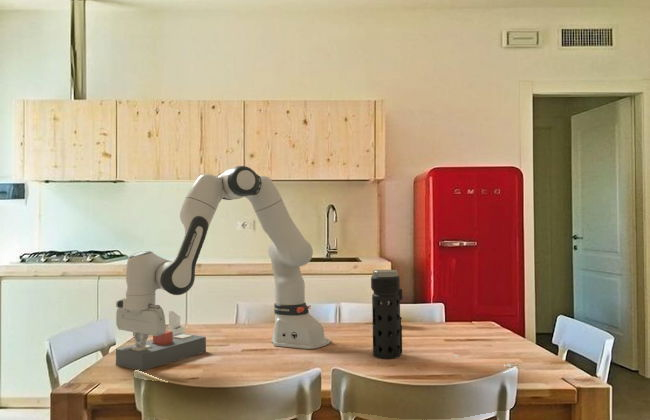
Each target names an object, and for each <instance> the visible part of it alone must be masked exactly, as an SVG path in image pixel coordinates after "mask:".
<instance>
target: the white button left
mask: <svg viewBox="0 0 650 420" xmlns="http://www.w3.org/2000/svg"><path fill="white" fill-rule="evenodd" d="M150 348H152V346H149V345H146V346H145V347H138V346H134V347H131V350H136V351H143V350H146V349H150Z"/></svg>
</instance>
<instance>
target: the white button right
mask: <svg viewBox="0 0 650 420" xmlns="http://www.w3.org/2000/svg"><path fill="white" fill-rule="evenodd" d="M186 334H187V333H185V334H182V335H178V336H174V337H173V338H174V339H180V340H184V339H188V338H191V337H192V335H193V334H190V335H186Z"/></svg>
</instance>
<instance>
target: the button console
mask: <svg viewBox="0 0 650 420" xmlns="http://www.w3.org/2000/svg"><path fill="white" fill-rule="evenodd" d="M182 334H184V333H178V334H174V335H173V337H174V336H178V335H182ZM185 334H186V335H192V337H191V338H188V339H184V340H180V339H174V338H173V343H169V344H165V345H157V344H153V339H150V340H146V345H149V346H152V348H150V349H146V350H143V351H136V350H131V347H134V346H136V345H135V343H134V344H130V345H126V346H122V347H118V348H115V365H116V366H119V367H122V368H123V367H124V368H128V369H132V370H136V369H140V370H142V371H141V372H143V371H147V370H150V369H154V368H157V367H160V366H165V365H167V364H170V363H174V362H177V361H179V360H183V359H186V358H189V357H192V356H196V355H198V354H202V353H205V352H206V351H207V337H206V336H204V335H203V336H202V335H197V334H189V333H185ZM140 370H139V371H140Z"/></svg>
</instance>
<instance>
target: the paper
mask: <svg viewBox="0 0 650 420" xmlns="http://www.w3.org/2000/svg"><path fill="white" fill-rule="evenodd" d="M459 356H460V354H453V357H459ZM513 366H517V367H518V368H517V369H521V367H520V366H518V364H517V363H516V364H515V363H514V364H513V363H512V364H511V363H508V364H503V367H504V368H510V367H513Z"/></svg>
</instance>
